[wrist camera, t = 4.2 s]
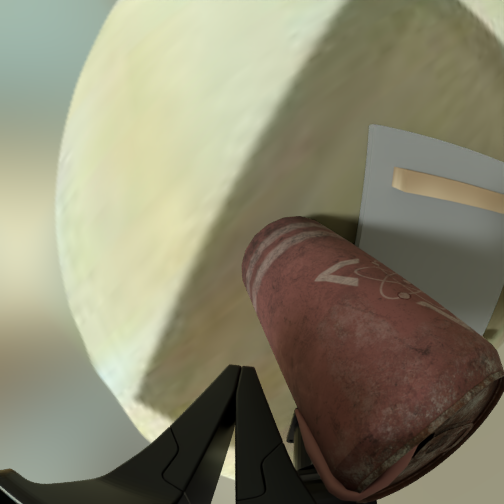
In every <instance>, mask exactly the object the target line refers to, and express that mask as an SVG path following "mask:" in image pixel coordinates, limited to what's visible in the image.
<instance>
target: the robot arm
mask: <svg viewBox="0 0 504 504" xmlns="http://www.w3.org/2000/svg"><path fill="white" fill-rule="evenodd" d="M296 409H298V408H296ZM234 427H235V485H236V486H235V490H236V504H377V500H375V501H371V502H368V503H356V501H344V500H340V499H339V498H337V497H335V496H334V495H332V494H331V493H329V492H328V490H327V488H326V487H325V485H324V483H323V481H322V479H321V478H320V476H319V474H318V472H317V470H316V468H315V467H314V465H313V463H312V461H311V459H310V457H309V455H308V454H307V452H306V449H305V445H304V442H303V438H302V435H301V431H300V428H299V424H298V421H297V417H296V414H295V410H294V414H293V418H292V421H291V425H290V428H289V432H288V435H287V442H288V443H294V459H293V463H292V461H291V459H290V457H289V455H288V453H287V450H286V448H285V445H284V443H283V441H282V438H281V436H280V433H279V431H278V428H277V426H276V423H275V420H274V418H273V415H272V413H271V410H270V408H269V405H268V402H267V400H266V397H265V395H264V392H263V389H262V387H261V384H260V381H259V379H258V376H257V373H256V370H255V368H254V367H249V366H242V368H241V366H239V365H228V366H227V367H226V368H225V369H224V371H223V372H222V373H221V374H220V375H219V376H218V377H217V378H216V379H215V380H214V381H213V382H212V383H211V385H210V386H209V387H208V388H207V389H206V390H205V391H204V392H203V393H202V394H201V395H200V396H199V397H198V398H197V399H196V400H195V401H194V402H193V403H192V404H191V405H190V406H189V407H188V408H187V409H186V410H185V411H184V412H183V414H182V415H181V416H180V417H179V418H178V419H177V420H176V421H175V422H174V423H173V424H172V425H170V427H168V428H167V429H166V430H165V431H164V432H163V433H162V434H161V435H160V436H159V437H158V438H157V439H156V440H155V441H153V442H152V443H151V444H150V445H149V446H147V447H146V448H145V449H143V450H142V451H141V452H139V453H138V454H136V455H135V456H134V457H132V458H131V459H129V460H128V461H126V462H125V463H123V464H122V465H120V466H119V467H117V468H116V469H115V470H113V471H112V472H110V473H108V474H106V475H104V476H101V477H98V478H94V479H89V480H82V481H74V482H64V483H53V484H39V483H34V482H31V481H29V480H27V479H25V478H23V477H22V476H21V475H20V474H18V473H17V472H16V471H14V470H12V469H4V470H0V486H1V487H2V488H4V489H5V490H6V491H7V492H8V493H10V494H11V495H12V496H13V497H15V498H16V499H17V500H18V501H20V502H21V503H22V504H211V501H212V498H213V495H214V492H215V489H216V486H217V483H218V480H219V476H220V473H221V470H222V467H223V464H224V461H225V457H226V454H227V451H228V448H229V444H230V441H231V438H232V434H233V431H234ZM0 504H18V503H17V502H16V501H15V500H13V499H12V498H11V497H10V496H9V495H7V494H6V493H5V492H4V491H3V490H1V489H0Z"/></svg>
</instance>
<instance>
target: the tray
mask: <svg viewBox="0 0 504 504" xmlns="http://www.w3.org/2000/svg"><path fill="white" fill-rule="evenodd" d="M355 246H357V247H358V248H360V249H361V250H363V251H364V252H366V253H368V254H369V255H371V256H372V257H374V258H375V259H377V260H378V261H380V262H381V263H383V264H384V265H385V266H387V267H388V268H390V269H391V270H393V271H394V272H396V273H397V274H399V275H400V276H402V277H403V278H404V279H406V280H407V281H409V282H410V283H412V284H413V285H414V286H416V287H417V288H419V289H420V290H421V291H423V292H424V293H426V294H427V295H428V296H430V297H431V298H432V299H434V300H435V301H437V302H438V303H439V304H441V305H442V306H443V307H445V308H446V309H447V310H449V311H450V312H451V313H453V314H454V315H455V316H457V317H458V318H459V319H460V320H462V321H463V322H464V323H466V324H467V325H468V326H469V327H471V328H472V329H473V330H475V331H476V332H477V333H478V334H480V335H481V336H482V337H483V334H484V331H485V329H486V327H487V325H488V323H489V321H490V318H491V316H492V314H493V311H494V309H495V306H496V304H497V302H498V299H499V296H500V294H501V291H502V288H503V286H504V162H501V161H499V160H496V159H494V158H491V157H489V156H486V155H483V154H481V153H478V152H475V151H472V150H470V149H467V148H464V147H461V146H458V145H455V144H451V143H448V142H445V141H442V140H438V139H435V138H431V137H427V136H424V135H420V134H416V133H412V132H408V131H404V130H400V129H395V128H391V127H386V126H381V125H376V124H372V125H369V136H368V148H367V159H366V169H365V178H364V187H363V194H362V202H361V209H360V216H359V222H358V229H357V235H356V241H355ZM483 338H484V337H483ZM484 339H485V338H484Z"/></svg>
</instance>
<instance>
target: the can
mask: <svg viewBox="0 0 504 504" xmlns="http://www.w3.org/2000/svg"><path fill="white" fill-rule="evenodd" d="M242 278H243V282H244V285H245V287H246V290H247V292H248V294H249V297H250V299H251V301H252V304H253V306H254V309H255V311H256V313H257V316H258V318H259V320H260V323H261V325H262V327H263V330H264V332H265V334H266V337H267V339H268V341H269V344H270V346H271V348H272V351H273V353H274V355H275V357H276V360H277V362H278V364H279V367H280V369H281V371H282V374H283V376H284V378H285V380H286V383H287V385H288V387H289V389H290V392H291V394H292V396H293V398H294V401H295V403H296V405H297V407H298V409H295V414H296V417H297V421H298V424H299V428H300V431H301V435H302V438H303V442H304V445H305V449H306V452H307V454H308V455H309V457H310V459H311V461H312V463H313V465H314V467H315V468H316V470H317V472H318V474H319V476H320V478H321V479H322V481H323V483H324V485H325V487H326V488H327V490H328V492H329V493H331V494H332V495H334V496H335V497H337V498H339V499H340V500H344V501H356V503H368V502H371V501H375V500H378V499H381V498H383V497H385V496H388V495H390V494H392V493H394V492H396V491H398V490H400V489H402V488H404V487H406V486H408V485H409V484H411V483H413V482H415V481H416V480H418V479H419V478H421V477H422V476H424V475H425V474H427V473H428V472H430V471H431V470H433V469H434V468H435V467H437V466H438V465H439V464H440V463H442V462H443V461H444V460H445V459H447V458H448V457H449V456H450V455H451V454H453V453H454V452H455V451H456V450H457V449H458V448H459V447H460V446H461V445H462V444H463V443H464V442H465V441H466V440H467V439H468V438H469V437H470V436H471V435H472V434H473V433H474V432H475V431H476V430H477V429H478V428H479V426H480V425H481V424H482V423H483V422H484V420H485V419H486V418H487V417H488V415H489V414H490V413H491V411H492V410H493V408H494V407H495V406H496V404H497V403H498V401H499V399H500V398H501V396H502V394H503V392H504V370H503V367H502V364H501V361H500V358H499V355H498V352H497V350H496V349H495V348H494V346H493V345H492V344H491V343H489V342H488V341H487V340H486V339H484V338H483V337H482V336H481V335H480V334H478V333H477V332H476V331H475V330H473V329H472V328H471V327H469V326H468V325H467V324H466V323H464V322H463V321H462V320H460V319H459V318H458V317H457V316H455V315H454V314H453V313H451V312H450V311H449V310H447V309H446V308H445V307H443V306H442V305H441V304H439V303H438V302H437V301H435V300H434V299H432V298H431V297H430V296H428V295H427V294H426V293H424V292H423V291H421V290H420V289H419V288H417V287H416V286H414V285H413V284H412V283H410V282H409V281H407V280H406V279H404V278H403V277H402V276H400V275H399V274H397V273H396V272H394V271H393V270H391V269H390V268H388V267H387V266H385V265H384V264H383V263H381V262H380V261H378V260H377V259H375V258H374V257H372V256H371V255H369V254H368V253H366V252H364V251H363V250H361V249H360V248H358V247H357V246H355V245H354V244H352V243H351V242H349V241H347V240H346V239H344V238H343V237H341V236H340V235H338V234H336V233H335V232H333V231H332V230H330V229H328V228H327V227H325V226H324V225H322V224H320V223H319V222H317V221H316V220H313V219H309V218H305V217H301V216H296V217H285V218H282V219H279V220H277V221H275V222H272V223H270V224H268V225H267V226H266V227H264V228H263V229H262V230H261V231H260V232H259V233H257V234H256V235H255V236H254V238H253V239H252V241H251V243H250V244H249V246H248V247H247V249H246V251H245V255H244V258H243V262H242Z"/></svg>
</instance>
